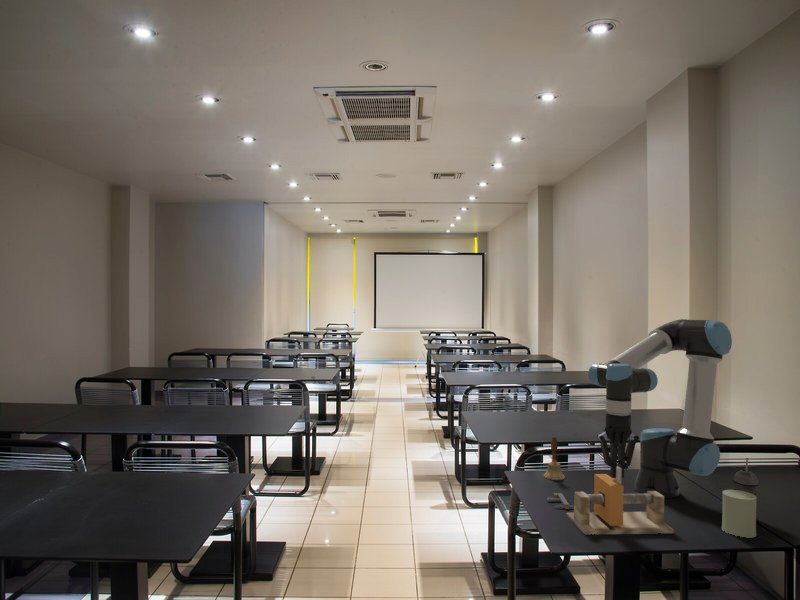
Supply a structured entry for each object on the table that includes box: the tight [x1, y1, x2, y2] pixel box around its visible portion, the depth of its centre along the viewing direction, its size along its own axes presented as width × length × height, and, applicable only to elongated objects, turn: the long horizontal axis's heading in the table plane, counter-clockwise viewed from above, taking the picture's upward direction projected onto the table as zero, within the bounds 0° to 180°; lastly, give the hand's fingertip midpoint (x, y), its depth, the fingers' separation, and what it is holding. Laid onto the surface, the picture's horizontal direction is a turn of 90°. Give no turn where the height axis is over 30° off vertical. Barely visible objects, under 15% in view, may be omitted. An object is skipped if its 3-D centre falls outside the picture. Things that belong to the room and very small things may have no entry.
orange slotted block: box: [593, 473, 625, 526], centre depth 179 cm, size 4×12×12 cm, turn 4°
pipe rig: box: [565, 491, 675, 536], centre depth 179 cm, size 28×15×10 cm, turn 94°
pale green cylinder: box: [721, 489, 757, 539], centre depth 175 cm, size 9×9×12 cm
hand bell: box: [543, 436, 566, 481], centre depth 226 cm, size 8×8×16 cm
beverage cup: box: [732, 457, 760, 497], centre depth 187 cm, size 7×7×20 cm
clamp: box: [546, 492, 574, 510], centre depth 195 cm, size 15×2×10 cm
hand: (616, 487), depth 179 cm, fingers closed
